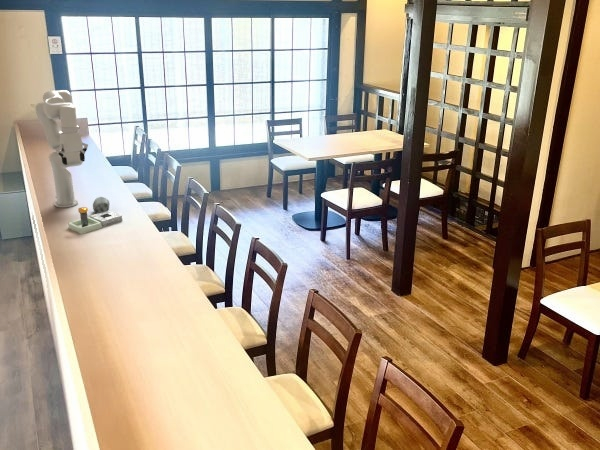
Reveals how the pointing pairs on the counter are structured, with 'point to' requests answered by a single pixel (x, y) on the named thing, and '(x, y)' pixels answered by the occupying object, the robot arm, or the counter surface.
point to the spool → (101, 205)
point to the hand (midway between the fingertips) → (73, 162)
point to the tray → (92, 226)
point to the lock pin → (83, 216)
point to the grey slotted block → (107, 217)
